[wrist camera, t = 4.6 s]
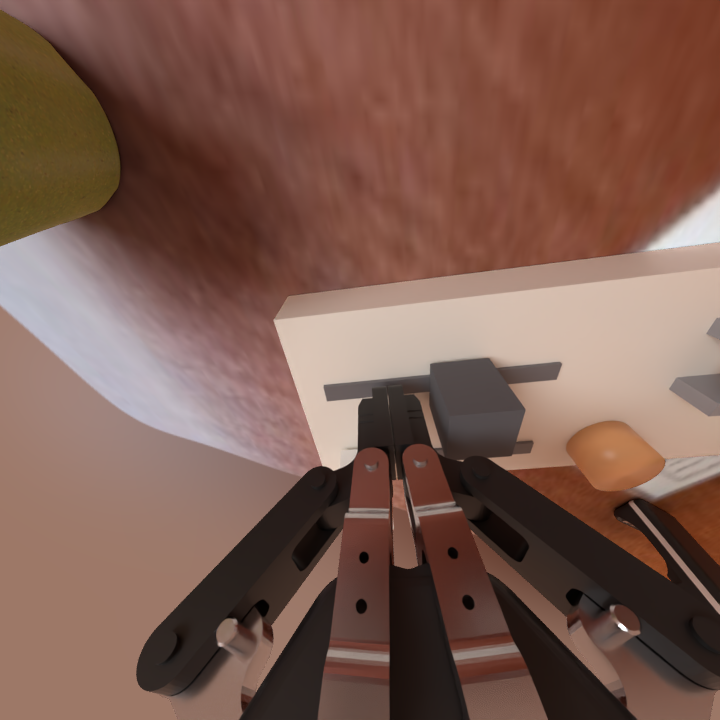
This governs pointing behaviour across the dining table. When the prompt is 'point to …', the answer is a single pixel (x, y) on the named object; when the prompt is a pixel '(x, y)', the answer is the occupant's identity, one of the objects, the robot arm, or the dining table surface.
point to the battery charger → (676, 551)
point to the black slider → (474, 409)
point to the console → (526, 349)
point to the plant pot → (48, 138)
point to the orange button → (614, 456)
